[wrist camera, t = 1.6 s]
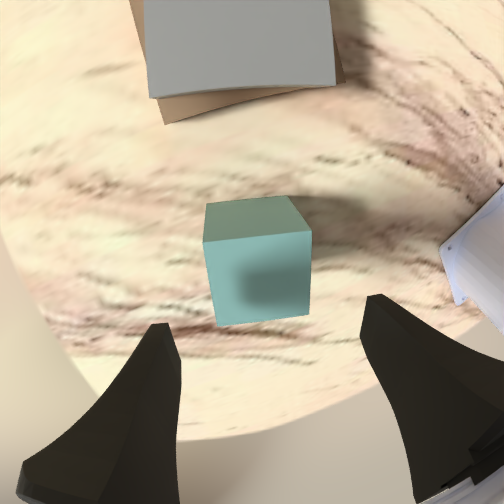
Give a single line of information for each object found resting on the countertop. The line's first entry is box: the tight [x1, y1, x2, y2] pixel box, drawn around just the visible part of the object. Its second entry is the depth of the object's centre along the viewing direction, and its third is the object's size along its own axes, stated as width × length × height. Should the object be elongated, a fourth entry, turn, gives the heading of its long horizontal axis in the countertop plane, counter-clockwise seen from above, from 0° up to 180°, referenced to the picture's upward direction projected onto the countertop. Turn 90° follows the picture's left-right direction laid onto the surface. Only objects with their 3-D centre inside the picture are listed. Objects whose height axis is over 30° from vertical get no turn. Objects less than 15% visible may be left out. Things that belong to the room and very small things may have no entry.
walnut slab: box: [129, 0, 346, 125], centre depth 11 cm, size 9×9×2 cm
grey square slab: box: [144, 0, 336, 99], centre depth 9 cm, size 8×8×2 cm
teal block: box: [202, 196, 312, 326], centre depth 15 cm, size 4×4×5 cm
